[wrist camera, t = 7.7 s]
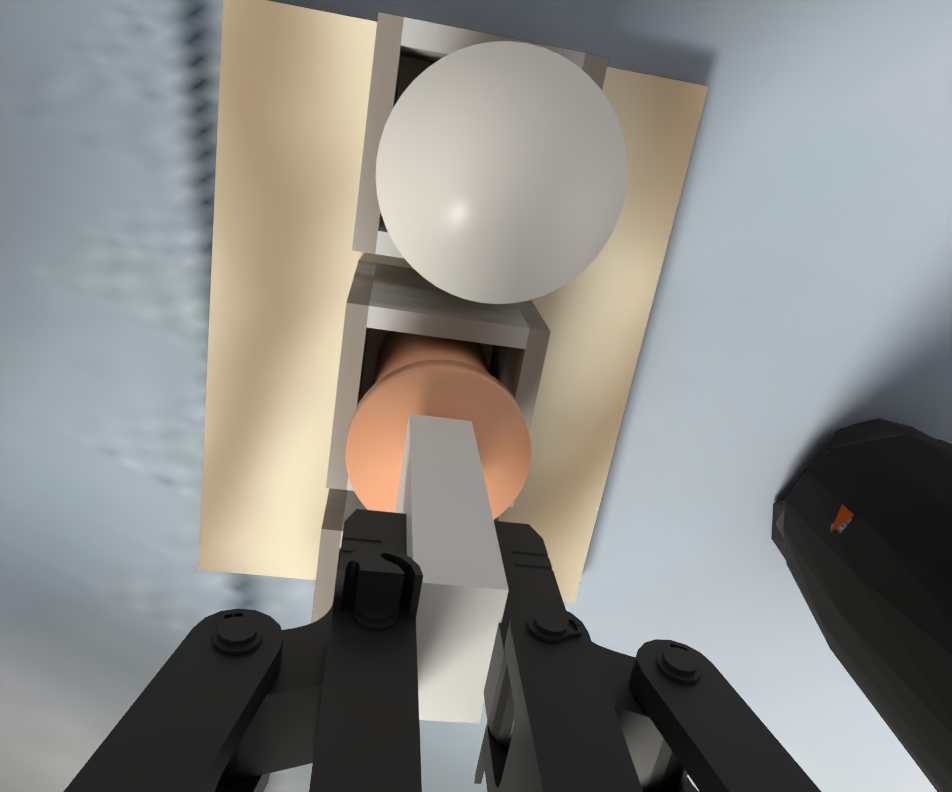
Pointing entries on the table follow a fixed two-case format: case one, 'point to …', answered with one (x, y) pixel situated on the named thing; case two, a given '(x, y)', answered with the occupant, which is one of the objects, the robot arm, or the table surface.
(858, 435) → the portable speaker
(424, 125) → the plunger cream
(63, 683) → the table surface
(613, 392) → the board
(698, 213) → the table surface
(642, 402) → the table surface
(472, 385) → the plunger terracotta
